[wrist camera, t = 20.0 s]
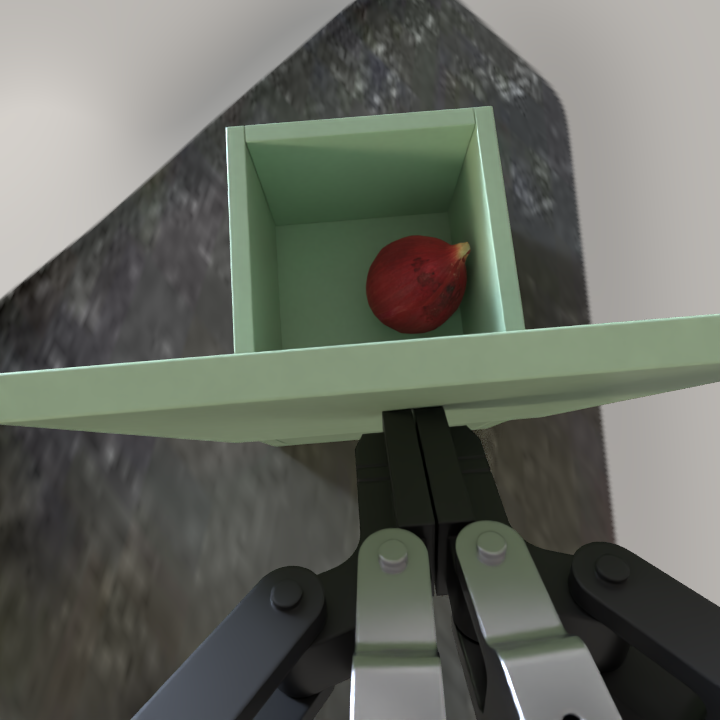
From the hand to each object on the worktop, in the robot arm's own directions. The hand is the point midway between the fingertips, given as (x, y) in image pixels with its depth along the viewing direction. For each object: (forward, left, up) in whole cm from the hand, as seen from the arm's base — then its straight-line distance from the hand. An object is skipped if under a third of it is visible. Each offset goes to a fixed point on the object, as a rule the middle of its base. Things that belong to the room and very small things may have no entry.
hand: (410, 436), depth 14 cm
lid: (-1, +1, -3) cm, 3 cm away
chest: (-7, +6, -23) cm, 25 cm away
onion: (-7, +7, -21) cm, 23 cm away
